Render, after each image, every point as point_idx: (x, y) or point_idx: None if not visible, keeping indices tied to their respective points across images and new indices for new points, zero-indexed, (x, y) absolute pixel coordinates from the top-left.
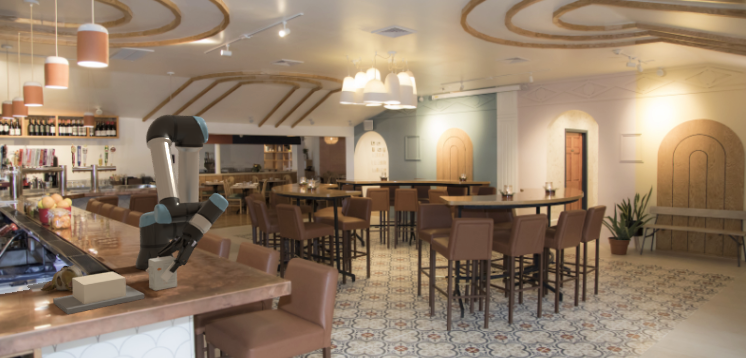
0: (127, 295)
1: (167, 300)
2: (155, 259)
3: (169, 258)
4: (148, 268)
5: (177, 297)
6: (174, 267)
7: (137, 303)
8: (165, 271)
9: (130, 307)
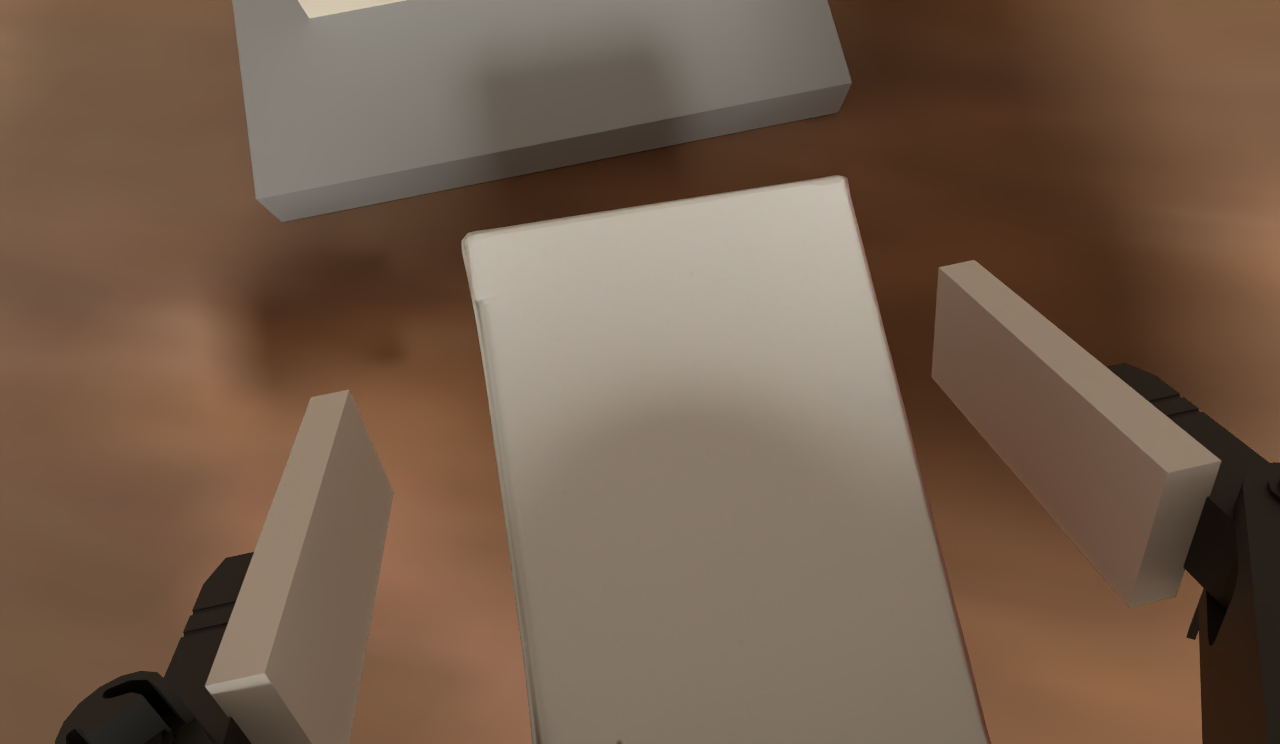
0: (317, 34)
1: (11, 431)
2: (679, 299)
3: (608, 652)
4: (971, 293)
5: (53, 566)
6: (184, 654)
7: (133, 133)
8: (297, 471)
9: (35, 57)
